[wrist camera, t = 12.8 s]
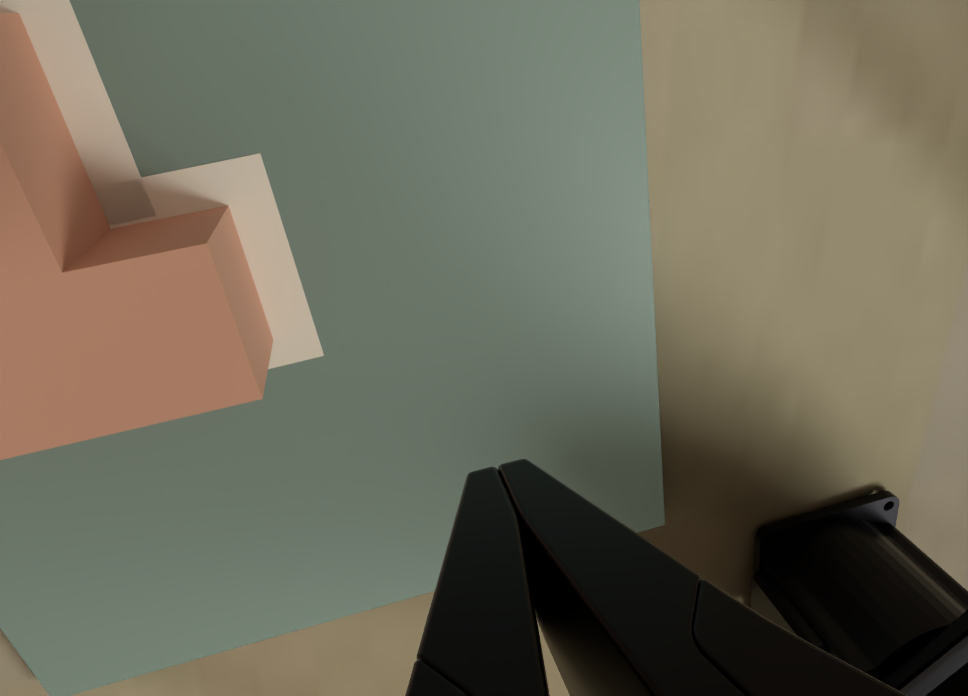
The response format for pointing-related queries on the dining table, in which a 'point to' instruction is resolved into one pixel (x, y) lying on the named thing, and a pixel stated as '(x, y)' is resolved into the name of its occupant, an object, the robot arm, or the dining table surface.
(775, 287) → the dining table surface
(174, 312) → the salmon notched block
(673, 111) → the dining table surface
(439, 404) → the board
